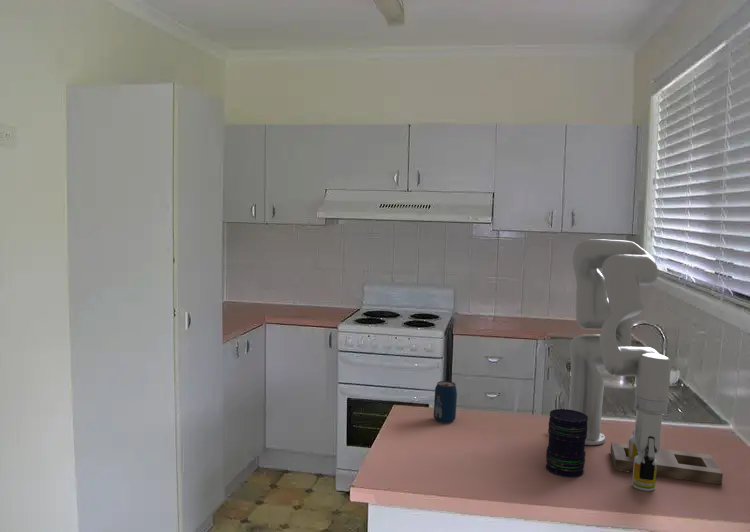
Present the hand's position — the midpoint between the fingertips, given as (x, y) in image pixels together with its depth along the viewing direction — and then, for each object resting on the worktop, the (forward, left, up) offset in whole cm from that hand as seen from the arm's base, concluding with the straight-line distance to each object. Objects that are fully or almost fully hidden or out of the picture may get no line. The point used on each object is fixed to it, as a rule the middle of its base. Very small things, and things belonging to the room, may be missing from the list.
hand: (644, 473), depth 167 cm
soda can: (-55, +31, -4) cm, 63 cm away
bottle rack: (+7, +15, -3) cm, 17 cm away
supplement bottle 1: (+1, +15, -4) cm, 15 cm away
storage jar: (-19, +4, -4) cm, 20 cm away
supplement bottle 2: (0, 0, -4) cm, 4 cm away
